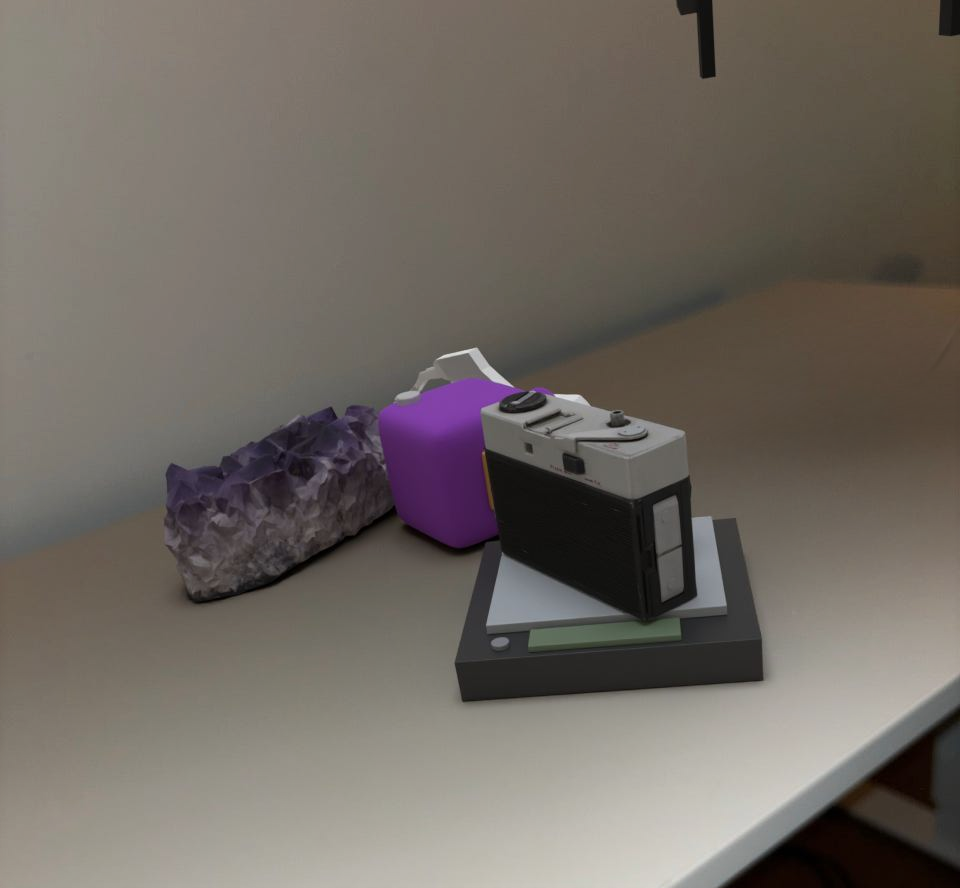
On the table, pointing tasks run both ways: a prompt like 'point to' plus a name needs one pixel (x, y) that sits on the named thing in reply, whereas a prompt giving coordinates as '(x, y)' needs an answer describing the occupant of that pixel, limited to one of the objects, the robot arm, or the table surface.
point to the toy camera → (443, 459)
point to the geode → (276, 501)
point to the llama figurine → (469, 372)
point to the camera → (593, 499)
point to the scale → (608, 629)
